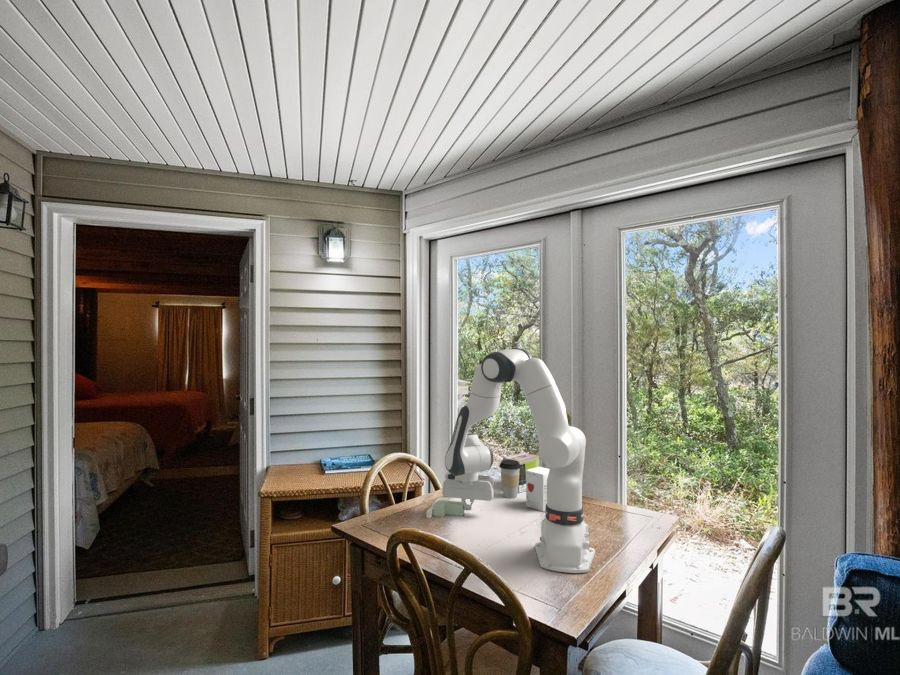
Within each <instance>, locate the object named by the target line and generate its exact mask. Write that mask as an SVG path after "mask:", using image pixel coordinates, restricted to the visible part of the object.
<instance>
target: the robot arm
mask: <svg viewBox="0 0 900 675" xmlns="http://www.w3.org/2000/svg"><path fill="white" fill-rule="evenodd" d="M512 381H515V382H516V383H517V384H519V386H520V388H521V389H522V393H523V396H525V397H524V398H525V399H526V402H527V406H528V407H529V410H530V412H531V415H532V418H533V421H534V424H535V425H534V426H535V430H536V434H537V440H538V443H539V447H538V448H539V449H538V450H539V452H538V453H539V458H540V459H541V460H542V462H543V464H545V465H546V466H548V467H549V468H548V469H549V474H548V478H547V504H546V508H545V511H544V513H545V515H544V516H545V518H543V519H542V520H541V523H540V524H541V525H540V526H541V527H540V530H541V531H540V532H541V534H540V537H539V541H538V542H535V543H534V549H535V553H536V556H537V559H538V563H539V566H540V567H541V568H543V569H546V570H549V571H554V572H561V573H569V574H570V573H571V574H584V573H585V574H586V573H588V572H589V570H590V568H591V565H592V562H593V560H594V557H595V556H596V550H595V549H594V548H592V547H591V541H589V539H590V533H589V525H588V524H587V523H586V522H585V521H584V520H585V518H584V515H585V511H584V506H583V489H582V488H583V474H584V466H585V458H586V457H585V456H586V447H587V438H586V436H585V433H584V432H583V431H582V430H581V429H579V428H578V427H575V426H573V425H571V426H570V425H569V421H568V416H567V410H566V408H567V407H566V404H565V401H564V400H563V398H562V395H561V393H560V389H559V388H558V385H557V384H556V381H555V379H554V377H553V374H552V373H551V372H550V370H549V368H548V367H547V365H546V363H545V362H544V361H543V360H542V359H540V358H538V357H533V356H532V354H531V353H530V352H529V351H527V350H526V349H523V348H513V349H512V348H511V349H510V348H509V349H508V348H505V349H501V350H498V351H493V352H490V353H489V354H487V355H485V356H484V357H483V359H482V360H481V363H480V364H478V365H477V366H476V368H475V370H474V373H473V377H472V381H471V386H470V387H471V388H470V393H469V397H468V399H467V401H466V403H465V404H464V405H463V407H461V408H460V409H459V412H458V414H457V417H456V420H455V425H454V428H453V433H452V436H451V440H450V444H449V445H448V446H449V447H448V449H447V451H446V453H445V457H444V467H445V469H446V470H447V472H446V473H445V476H444V478H445V479H444V481H443V483H442V490H441V491H442V495H443V498H450V499H451V498H452V499H460V500H461V501H462V503H463V505H464V510H465V511H472V509H473V508H472V507H473V504H474V502H475V500H476V501H486V502H487V501H488V502H491V501H492V500H493V499H494V495H495V493H494V486H495V479H494V477H491V476H490V475H483V474H480V473H481V472H486V471H489V470H490V469H491V468H492V466H493V463H494V452H493V450H491V448H490V447H489V446H487V445H485V444H484V443H483V442H481V440H480V439H479V435H478V434H477V433H475V432H474V433H472V432H471V433H469V431H470V430H471V429H472V427H473V426H475V424H478V423H479V422H480V421H483V420H485V419H487V418H490V417H491V416H492V415H494V414H495V413H496V412H497V410H498V409H499V406H500V402H501V396H502V386H503V383H510V382H512ZM466 500H469V502H470V504H469V503H468V504H467V502H466Z"/></svg>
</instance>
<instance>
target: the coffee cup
mask: <svg viewBox="0 0 900 675" xmlns="http://www.w3.org/2000/svg"><path fill="white" fill-rule="evenodd" d="M498 467H499V468H500V478H501V485H502V493H503V494H502V495H503V497H504V498H506V499H515V498H517V497H518V493H517V492H518V485H519V474H520V473H519V470H520V468H521V466H520V464H519V462H518V461H515V460H503V459H502V460H501V461H500V463H499V465H498Z"/></svg>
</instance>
